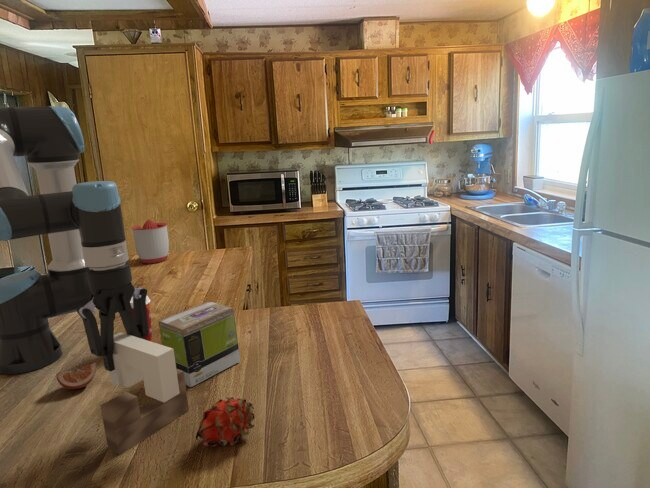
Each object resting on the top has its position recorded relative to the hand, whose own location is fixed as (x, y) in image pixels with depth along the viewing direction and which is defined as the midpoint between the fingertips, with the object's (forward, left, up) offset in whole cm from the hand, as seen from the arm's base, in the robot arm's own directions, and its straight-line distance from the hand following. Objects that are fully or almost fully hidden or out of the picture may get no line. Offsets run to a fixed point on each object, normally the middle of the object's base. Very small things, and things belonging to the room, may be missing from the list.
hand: (126, 378), depth 93 cm
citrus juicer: (-109, +86, -10) cm, 139 cm away
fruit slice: (-24, +2, -10) cm, 25 cm away
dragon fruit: (+21, +5, -10) cm, 24 cm away
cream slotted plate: (+6, 0, 0) cm, 6 cm away
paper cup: (-30, +23, -10) cm, 39 cm away
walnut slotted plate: (+5, 0, -9) cm, 11 cm away
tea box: (-4, +22, -10) cm, 24 cm away
